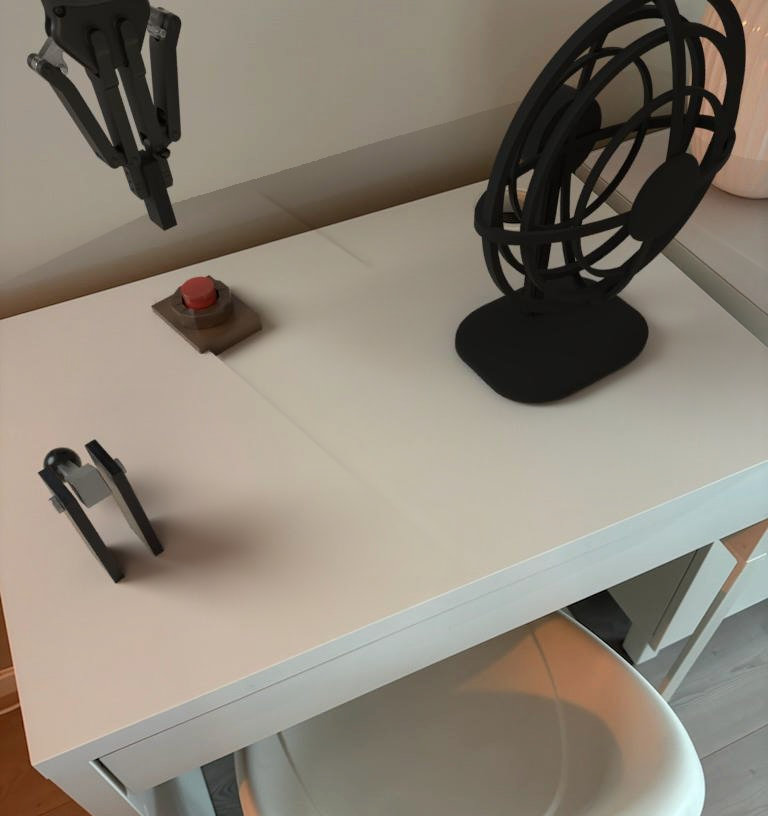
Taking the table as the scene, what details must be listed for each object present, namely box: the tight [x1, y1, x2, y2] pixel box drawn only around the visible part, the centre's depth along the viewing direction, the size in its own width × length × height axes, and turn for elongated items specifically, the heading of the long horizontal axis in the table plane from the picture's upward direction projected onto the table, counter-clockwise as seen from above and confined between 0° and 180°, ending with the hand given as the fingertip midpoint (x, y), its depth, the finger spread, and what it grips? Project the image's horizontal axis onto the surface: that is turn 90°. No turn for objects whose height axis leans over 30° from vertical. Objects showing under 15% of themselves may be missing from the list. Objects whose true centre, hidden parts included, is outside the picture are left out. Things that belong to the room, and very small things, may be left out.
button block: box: [150, 274, 263, 357], centre depth 85 cm, size 10×8×4 cm
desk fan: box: [454, 0, 747, 404], centre depth 67 cm, size 27×18×35 cm, turn 122°
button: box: [181, 276, 217, 310], centre depth 83 cm, size 4×4×2 cm
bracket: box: [37, 439, 165, 584], centre depth 63 cm, size 12×9×13 cm
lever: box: [42, 446, 113, 509], centre depth 63 cm, size 13×3×3 cm
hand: (163, 221), depth 73 cm, fingers closed
